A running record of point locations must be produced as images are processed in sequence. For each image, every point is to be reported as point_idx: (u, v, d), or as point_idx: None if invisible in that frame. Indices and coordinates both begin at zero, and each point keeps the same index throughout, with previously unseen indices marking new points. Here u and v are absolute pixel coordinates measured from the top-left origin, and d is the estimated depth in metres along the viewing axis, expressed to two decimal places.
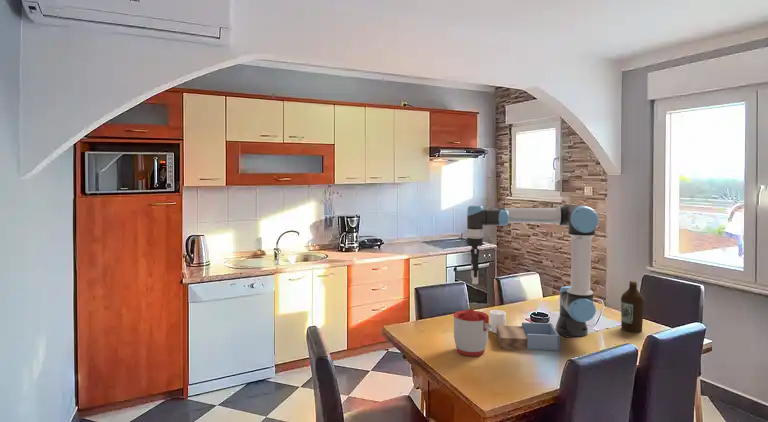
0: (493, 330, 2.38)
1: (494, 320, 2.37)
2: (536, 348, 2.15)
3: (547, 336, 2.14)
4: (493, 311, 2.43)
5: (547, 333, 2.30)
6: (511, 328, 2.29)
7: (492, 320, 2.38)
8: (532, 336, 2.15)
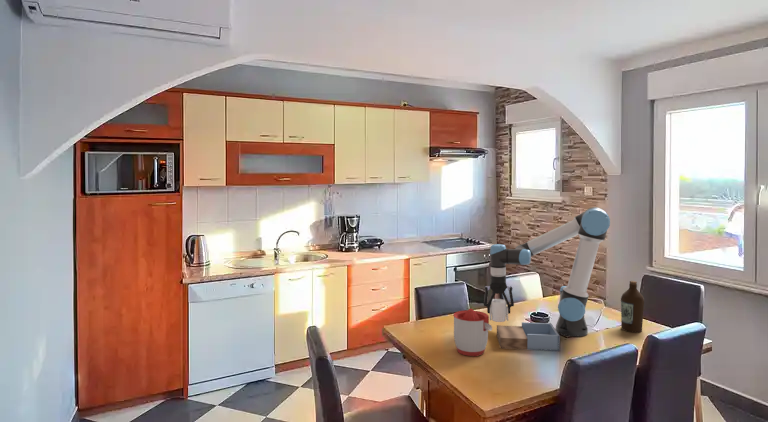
0: (494, 319, 2.38)
1: (495, 309, 2.36)
2: (536, 348, 2.15)
3: (547, 336, 2.14)
4: (494, 300, 2.43)
5: (547, 333, 2.30)
6: (511, 328, 2.29)
7: (493, 309, 2.37)
8: (532, 336, 2.15)
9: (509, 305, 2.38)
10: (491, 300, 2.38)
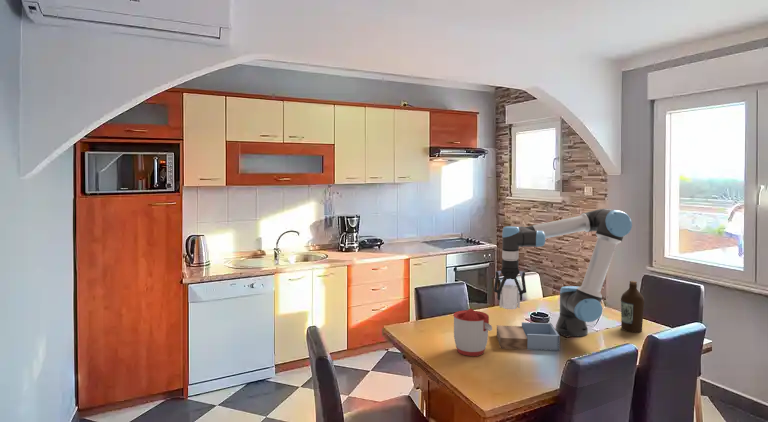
0: (505, 306, 2.22)
1: (506, 295, 2.21)
2: (536, 348, 2.15)
3: (547, 336, 2.14)
4: (505, 286, 2.27)
5: (547, 333, 2.30)
6: (511, 328, 2.29)
7: (504, 295, 2.22)
8: (532, 336, 2.15)
9: (521, 292, 2.22)
10: (502, 286, 2.23)
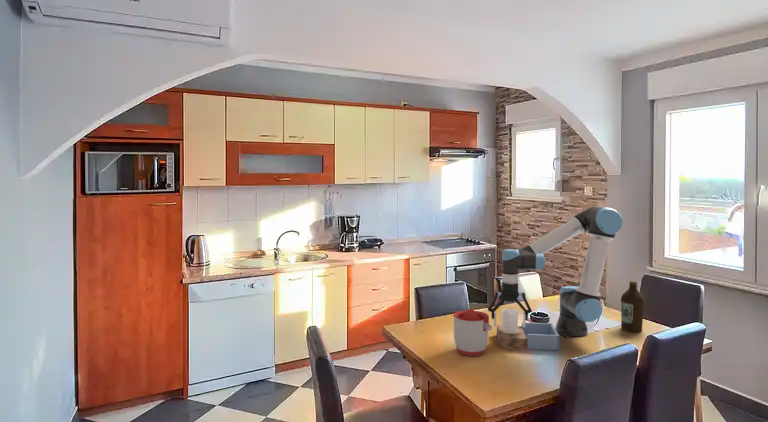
0: (505, 330, 2.23)
1: (506, 319, 2.21)
2: (536, 348, 2.15)
3: (547, 336, 2.14)
4: (505, 310, 2.27)
5: (547, 333, 2.30)
6: None
7: (504, 320, 2.22)
8: (532, 336, 2.15)
9: (526, 311, 2.22)
10: (498, 306, 2.23)
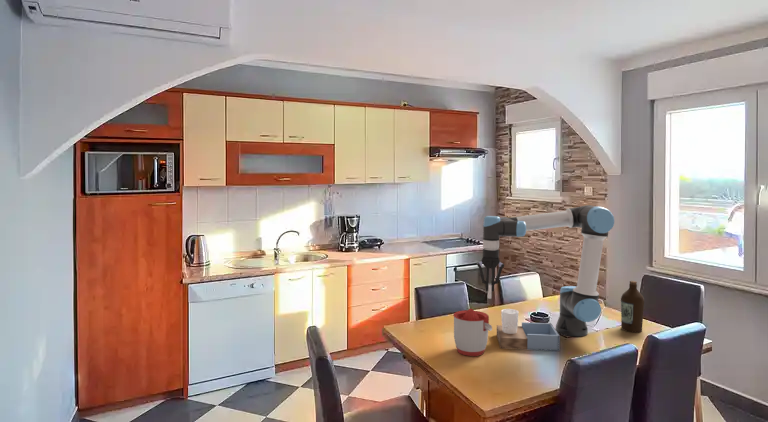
0: (505, 330, 2.23)
1: (506, 320, 2.21)
2: (536, 348, 2.15)
3: (547, 336, 2.14)
4: (505, 310, 2.27)
5: (547, 333, 2.30)
6: None
7: (504, 320, 2.22)
8: (532, 336, 2.15)
9: (493, 283, 2.23)
10: (487, 276, 2.23)
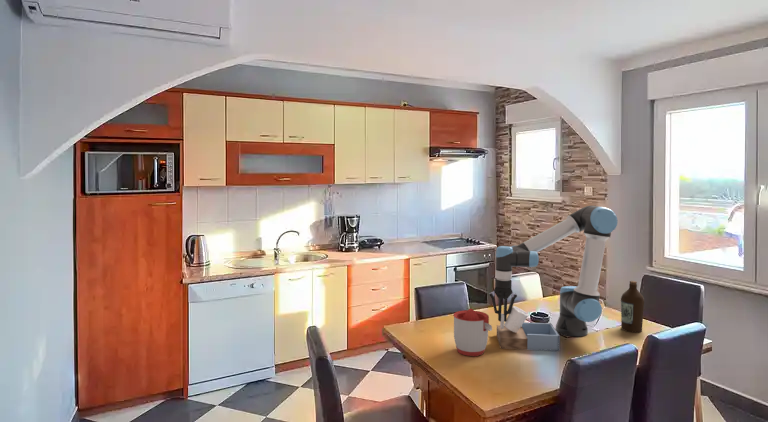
0: (508, 326, 2.22)
1: (514, 317, 2.20)
2: (536, 348, 2.15)
3: (547, 336, 2.14)
4: (515, 308, 2.26)
5: (547, 333, 2.30)
6: None
7: (512, 316, 2.21)
8: (532, 336, 2.15)
9: (506, 313, 2.23)
10: (500, 306, 2.23)
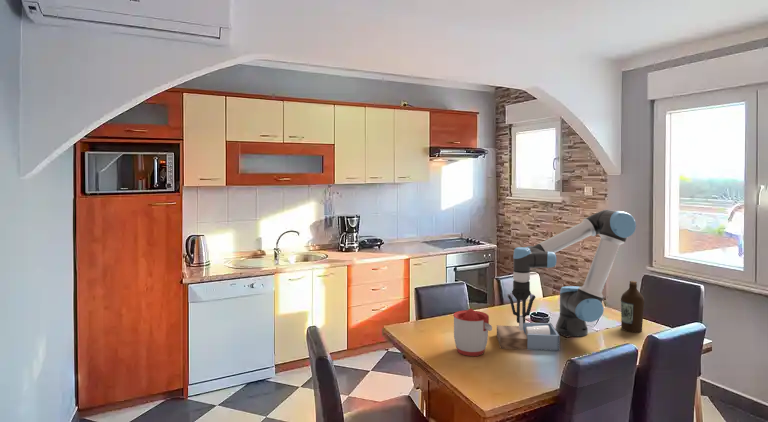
0: (530, 331, 2.21)
1: (542, 332, 2.20)
2: (536, 348, 2.15)
3: (547, 336, 2.14)
4: None
5: None
6: (511, 328, 2.29)
7: (541, 330, 2.20)
8: (532, 336, 2.15)
9: (524, 314, 2.22)
10: (519, 308, 2.22)
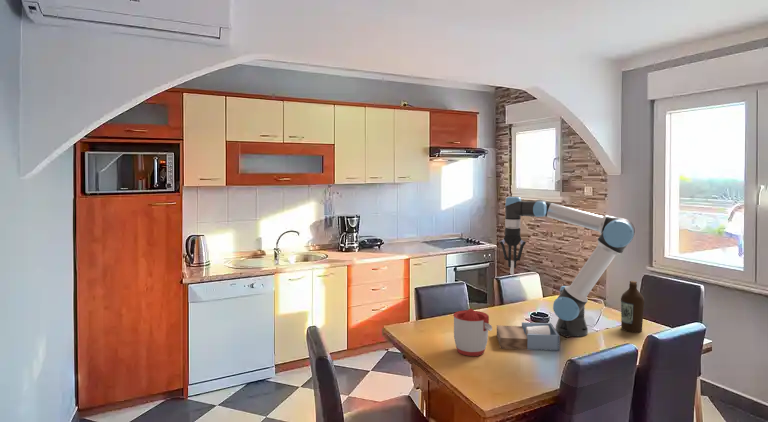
0: (530, 331, 2.21)
1: (542, 333, 2.20)
2: (536, 348, 2.15)
3: (547, 336, 2.14)
4: None
5: None
6: (511, 328, 2.29)
7: (541, 330, 2.20)
8: (532, 336, 2.15)
9: (515, 259, 2.37)
10: (510, 253, 2.37)
